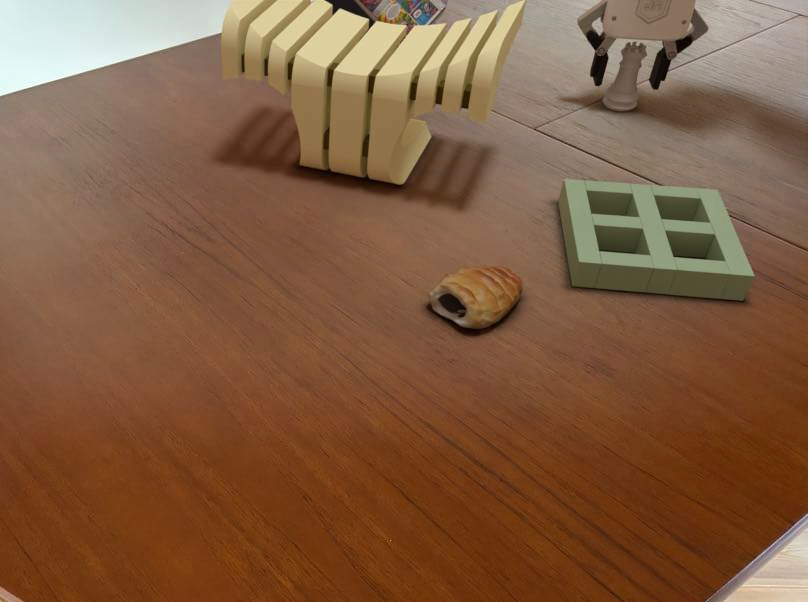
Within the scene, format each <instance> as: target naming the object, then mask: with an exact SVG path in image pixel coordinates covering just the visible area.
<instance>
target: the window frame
mask: <svg viewBox="0 0 808 602" xmlns="http://www.w3.org/2000/svg"><path fill="white" fill-rule="evenodd" d="M557 204H558V209H559V216H560V221H561V228H562V234H563V240H564V241H563V242H564V246H565V253H566V258H567V264H568V265H567V266H568V271H569V277H570V282H571V287H577V288H586V289H587V288H588V289H590V288H591V289H601V290H611V291H621V292H623V291H624V292H636V293H648V294H659V295H670V296H681V297H692V298H705V299H714V300H715V299H716V300H728V301H741V302H742V301H744V300H745V298H746V296H747V293H748V291H749V289H750V287H751V286H752V283H753V280H754V278H755V273H754V270H753V269H752V267H751V264H750V262H749V259H748V257H747V255H746V252H745V250H744V248H743V246H742V243H741V241H740V238H739V236H738V234H737V231H736V228H735V226H734V224H733V222H732V219H731V217H730V215H729V213H728V210H727V207H726V205H725V203H724V200H723V199H722V196H721V193H720V192H719V190H718V189H713V188H699V187H698V188H697V187H685V186H684V187H683V186H672V185H657V184H644V183H643V184H642V183H628V182H627V183H626V182H615V181H602V180H601V181H600V180H584V179H573V178H563V182H562V185H561V189H560V193H559V197H558V201H557Z"/></svg>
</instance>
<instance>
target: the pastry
mask: <svg viewBox="0 0 808 602" xmlns="http://www.w3.org/2000/svg"><path fill="white" fill-rule="evenodd" d="M523 289H524V286H523V280H522V279H521V278H520V276H518V275H517V273H515V272H513V271H512V269H511V268H510V267H505V266H503V265H491V266H488V265H482V266H475V265H471V266H470V267H469V268H467V267H462V268H460V269H458V270H457V271H456V273H448V274H446V275H445V276H443V277H442V278H441V280H440V282H439V283H438V285H436V286H435V288H433V290H432V291H430V292H429V293H428V302H429V303H430V304H431V308H432V310H433V311H434V312H435V313H437V314H439V315H440V316H442V317H444V318H446V319H447V320H451V321H453V322H454V323H456V324H457V325H458V326H459V327H461V328H466V329H473V330H481V329H485V328H489V327H490V326H491V325H493V324H495V323H498V322H499V321H500V320H502V319H503V318H504V317H505V316H506V315H507V314H508V313H509V312H510V311H511V309H512V308H513V307H514V306H515V304H517V302H518V301H519V299H520V297H521V294H522V292H523V291H524V290H523Z"/></svg>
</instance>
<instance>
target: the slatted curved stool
mask: <svg viewBox="0 0 808 602" xmlns="http://www.w3.org/2000/svg"><path fill="white" fill-rule="evenodd" d="M311 2H312V0H232V1H231V3H230V4H229V6H228V7H227V10H226V12H225V15H224V18H223V23H222V27H221V35H220V53H221V74H222V76H221V77H222V81H226V80H237V79H239V78H240V77H241V76H242V75H243V74H244V79H245V80H250V81H251V80H252V81H256V82H262V81H263V80H264V79H265V77H267V84H268V86H270V87H272V88H273V89H275V90H276V91H278V92H279V93H280V94H281V95H282V96H285V95H286V94H287V93H288V91H289V90H290V91H291V93H290V94H291V95H290V96H291V97H290V99H291V100H290V103H291V104H290V107H291V108H290V109H291V111H292V114H293V117H294V120H295V124H296V127H297V132H298V136H299V140H300V141H299V142H300V159H299V166H303V167H306V168H307V167H308V168H312V169H317V170H322V171H328V170H329V169H330V171H331V172H333V173H337V174H343V175H348V176H353V177H358V178H365V177H368V178H369V179H370V180H374V181H379V182H384V183H385V182H386V183H390V184H395V185H401V186H402V185H403V184H405V182H406V181H407V179H408V178H409V176H410V175H411V172H412V171H413V169H414V167H415V166H416V164H417V163H418V160H419V159H420V157H421V156H422V154H423V152H424V150H425V149H426V147H427V145H428V144H429V142H430V140H431V138H432V137H433V136H432V135H431V132H430V130H429V128H428V126H427V121H426V120H421V119H414V118H416V117H418V116H421V115H423V114H428V113H432V112H433V111H434V109H435V108H436V106H437V105H441V107H440V113H448V114H453V115H459V114H460V112H461V111H462V109H464V110H467V114H466V118H467V119H471V120H473V121H476V122H478V123H480V124H482V125H485V123H486V121H487V119H488V117H489V115H490V114H491V112H492V110H493V108H494V103H495V99H496V98H495V97H496V93H497V89H498V86H499V81H500V78H501V75H502V71H503V69H504V66H505V62H506V59H507V57H508V54H509V52H510V49H511V47H512V45H513V43H514V41H515V39H516V36H517V34H518V32H519V30H520V28H521V26H522V24H523V18H524V13H525V8H526V3H527V0H520V1H517V2H515V3H513V4H510V5H507V7H506V9H505V10H504V11H503V13H502V15H501V17H500V18H499V20H498V15H499V9H496V10H493V11H491V12H488V13H484V14H480V15H479V17H478V19H477V21H476V22H475V24H474V25H473V26H472V20H473V18H472V17H469V18H465V19H462V20H457V21H454V22H453V24H452V25H451V27H450V28H449V29H448V31H447V24H448V23H447V22H446V23H445V22H444V23H436V25H418V26H414V27H413V29H412V30H411V31H410V32H409V34H408V35H407V36H406V38H405V39H404V40H403V41H402V43H401V44H400V45H399V43H400V42H401V40H402V39H403V38H404V36H405V35H406V30H407V25H398V24H389V23H384V22H379V21H376V22H375V24H374V25H373V26H372V27H371V28H370V29H369V19H367V18H364V17H361V16H358V15H355V14H352V13H350V12H347V11H345V10H343V9H339V10H338V11H337V12H336V13H335V14H334V15H333V16H332V10H333V5H332V4H330V3H328V2H326V1H325V0H315V1H314V2H313V3H312V4H311ZM331 16H332V17H331ZM330 17H331V18H330ZM497 20H498V21H497ZM471 26H472V28H471ZM368 29H369V31H368V32H367V33H366V34H365V32H366V31H367V30H368ZM446 32H447V33H446ZM364 34H365V35H364ZM363 35H364V36H363ZM362 36H363V37H362ZM361 37H362V39H361ZM360 39H361V40H360ZM359 40H360V41H359ZM358 41H359V42H358ZM398 45H399V47H398V48H397V46H398ZM396 48H397V49H396ZM395 49H396V51H395ZM394 51H395V52H394ZM393 52H394V53H393ZM412 116H413V118H412Z"/></svg>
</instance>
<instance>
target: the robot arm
mask: <svg viewBox="0 0 808 602" xmlns="http://www.w3.org/2000/svg"><path fill="white" fill-rule="evenodd" d="M696 2H697V0H600V1H599V2H598V3H597V4H595V5H593V6H592V7H591V8H589V9H588V10H586V11H585V12H584V13H582V14H581V15H580V16H578V17H577V19H576V22H577V25H578V27H579V29H580V30H581V32H582V34H583V35H584V37H585V38H586V40H587V42H588V43H589V44H590V46H591V47H592V49H593V50H594V54H593V57H592V58H593V59H592V62H591V66H590V70H589V77H590V78H592V79H593V83H594V87H600V86H602V84H603V82H604V81H603V80H604V77H605V73H606V69H607V66H608V62H609V54H608V52H609V49H610V48H611V47H612V46H613V44H614V43H615V41H616V40H619V39H621V40H622V39H623V40H635V41H636V40H637V41H654V42H655V41H657V42H661V44H662V48H661V49H659V50H658V52H656V55H655V59H654V61H653V64H652V68H651V72H650V75H649V78H648V81H649V84H650V87H651V89H652V90H653V91H658V90H659V88H660V85H661V83H662V82H665V81H666V79H667V76H668V73H669V69H670V66H671V63H672V60H674V59H676V58H677V56H678V55H679V54H680V53H682V52H683V51H684V50H686V49H687V48H689V47H690V46H691V45H692V44H693V43H694V42H695V41H697V40H698V39H700V38H701V37H702V36H704V35H705V34H706V33H708V31H709V29H710V27H709V26H708V24H707V22H706V21H705V20H704V18H703V17H702V16H701V14H700V12H699V11H698V10H697V9H696V7H695V6H696ZM599 18H600V19H599ZM598 19H599V20H600V22H601V24H602V31H601V32H600V34H599V33H598V32H597V30H596V29H595V28H594V26H593V23H594V22H595V21H597V20H598ZM690 25H691V27H690Z"/></svg>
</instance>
